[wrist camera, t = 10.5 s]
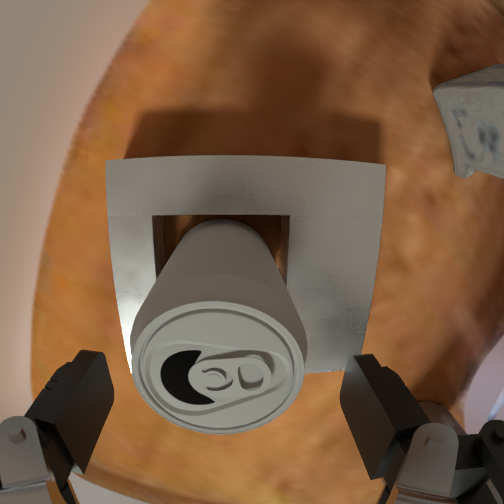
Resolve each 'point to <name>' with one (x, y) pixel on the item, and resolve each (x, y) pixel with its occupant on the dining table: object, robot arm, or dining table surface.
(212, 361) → the beverage can
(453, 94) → the incense holder
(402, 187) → the dining table surface
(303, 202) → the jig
